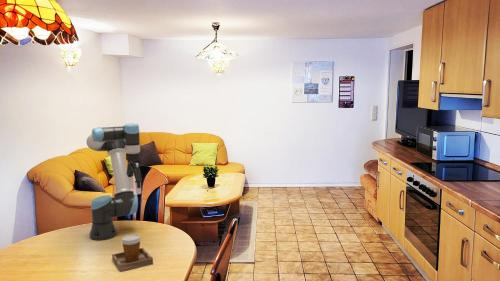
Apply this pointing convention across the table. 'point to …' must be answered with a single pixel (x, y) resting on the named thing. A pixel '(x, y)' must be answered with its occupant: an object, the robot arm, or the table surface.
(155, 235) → the table surface
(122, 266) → the walnut tray
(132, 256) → the disposable coffee cup
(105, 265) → the table surface
